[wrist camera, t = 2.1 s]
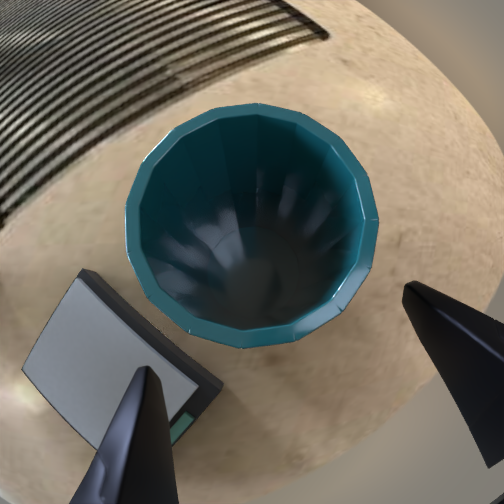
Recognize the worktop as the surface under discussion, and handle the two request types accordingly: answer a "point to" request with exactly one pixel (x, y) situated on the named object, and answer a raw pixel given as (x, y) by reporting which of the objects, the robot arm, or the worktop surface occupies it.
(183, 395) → the scale
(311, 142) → the cup
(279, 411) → the worktop surface
